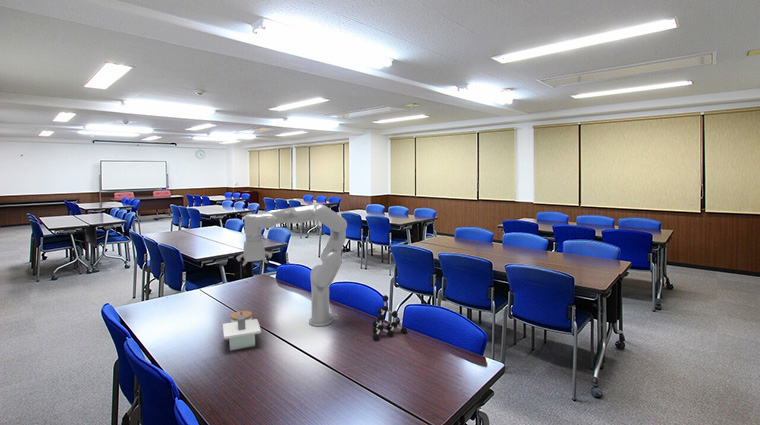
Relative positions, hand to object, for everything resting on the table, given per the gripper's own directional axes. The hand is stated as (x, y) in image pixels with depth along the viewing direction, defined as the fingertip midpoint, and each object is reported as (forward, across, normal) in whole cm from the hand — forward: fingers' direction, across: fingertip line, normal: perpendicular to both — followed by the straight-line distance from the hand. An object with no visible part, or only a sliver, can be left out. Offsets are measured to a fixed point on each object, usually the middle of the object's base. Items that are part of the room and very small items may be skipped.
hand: (255, 271), depth 189 cm
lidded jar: (+32, +7, -7) cm, 33 cm away
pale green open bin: (+31, +10, +11) cm, 35 cm away
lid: (+24, +9, +11) cm, 28 cm away
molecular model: (+34, -56, +31) cm, 72 cm away
